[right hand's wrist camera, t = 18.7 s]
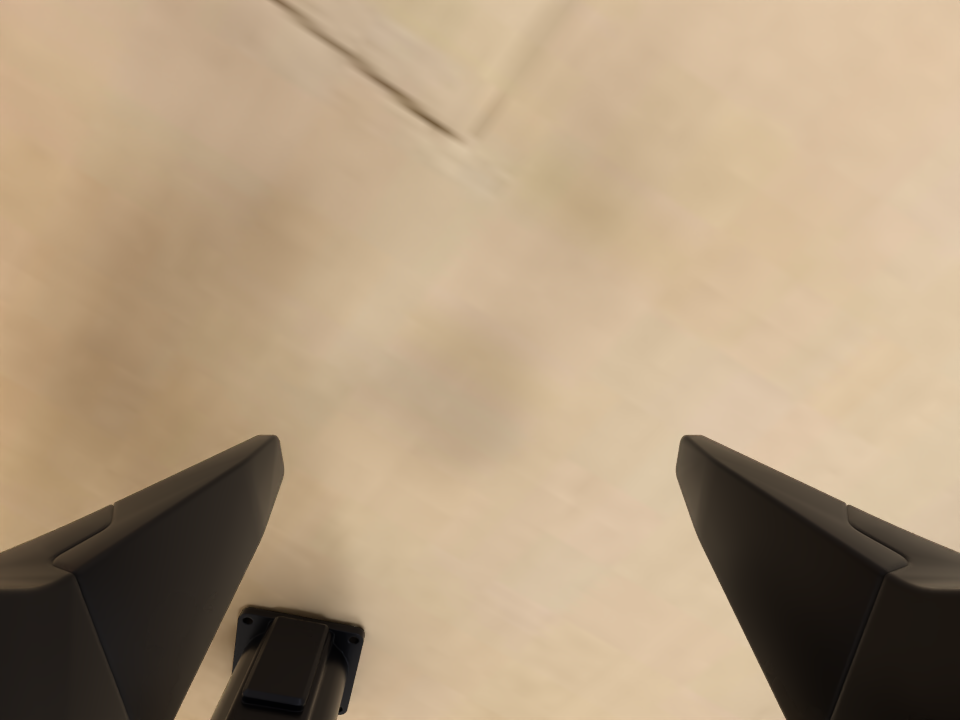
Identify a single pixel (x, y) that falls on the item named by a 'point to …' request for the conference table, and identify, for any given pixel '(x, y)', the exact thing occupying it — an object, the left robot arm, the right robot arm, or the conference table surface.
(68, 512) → the conference table surface
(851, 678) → the right robot arm
